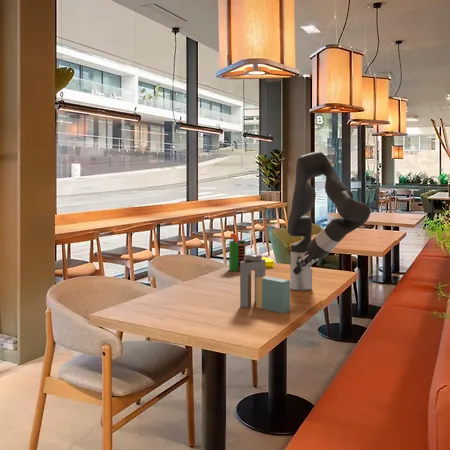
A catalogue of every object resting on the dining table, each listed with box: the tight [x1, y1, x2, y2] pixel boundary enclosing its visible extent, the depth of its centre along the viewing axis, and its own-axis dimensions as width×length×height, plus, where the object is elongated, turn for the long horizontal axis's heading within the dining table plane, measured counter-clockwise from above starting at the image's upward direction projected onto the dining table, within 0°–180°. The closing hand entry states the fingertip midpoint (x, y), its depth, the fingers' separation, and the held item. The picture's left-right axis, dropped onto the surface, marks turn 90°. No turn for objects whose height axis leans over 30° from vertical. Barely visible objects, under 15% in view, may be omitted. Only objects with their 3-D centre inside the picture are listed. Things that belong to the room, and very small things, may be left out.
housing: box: [239, 253, 266, 309], centre depth 202 cm, size 7×11×20 cm, turn 137°
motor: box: [228, 233, 246, 273], centre depth 274 cm, size 10×9×20 cm
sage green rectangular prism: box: [255, 275, 291, 314], centre depth 196 cm, size 13×4×12 cm, turn 47°
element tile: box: [262, 256, 275, 269], centre depth 286 cm, size 15×15×5 cm
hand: (295, 272), depth 187 cm, fingers closed
